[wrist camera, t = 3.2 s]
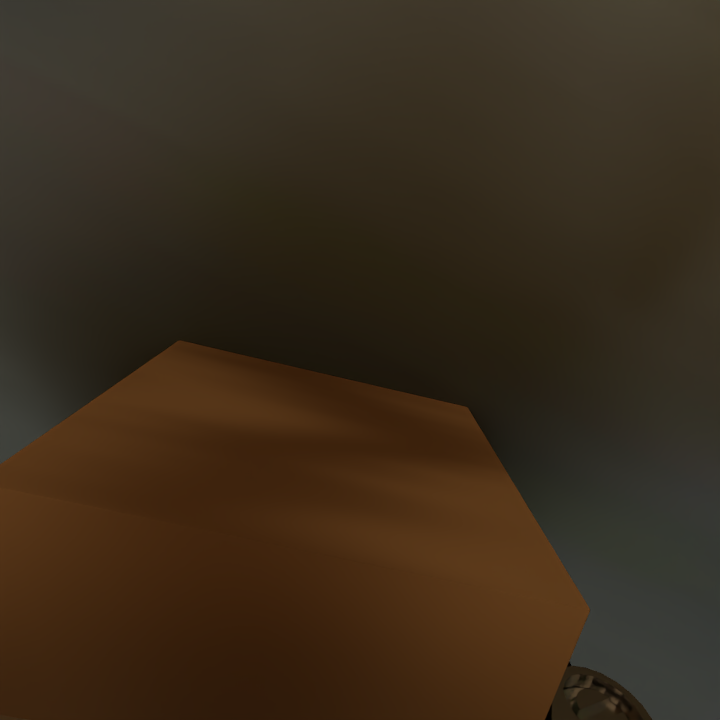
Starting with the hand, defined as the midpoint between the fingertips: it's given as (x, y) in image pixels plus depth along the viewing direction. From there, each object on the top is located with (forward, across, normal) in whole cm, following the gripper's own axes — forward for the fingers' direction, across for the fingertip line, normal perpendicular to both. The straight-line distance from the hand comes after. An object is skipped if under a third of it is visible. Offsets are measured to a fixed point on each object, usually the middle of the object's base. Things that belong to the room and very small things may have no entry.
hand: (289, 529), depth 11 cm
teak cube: (+1, 0, 0) cm, 1 cm away
